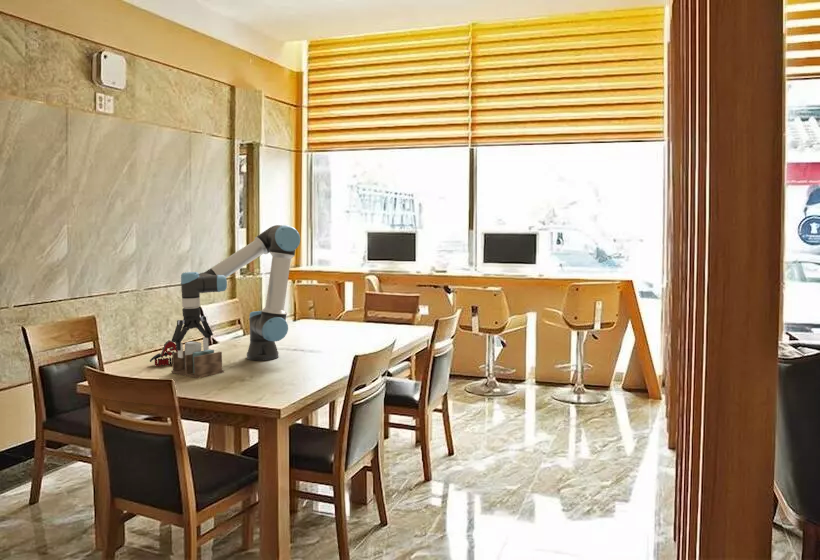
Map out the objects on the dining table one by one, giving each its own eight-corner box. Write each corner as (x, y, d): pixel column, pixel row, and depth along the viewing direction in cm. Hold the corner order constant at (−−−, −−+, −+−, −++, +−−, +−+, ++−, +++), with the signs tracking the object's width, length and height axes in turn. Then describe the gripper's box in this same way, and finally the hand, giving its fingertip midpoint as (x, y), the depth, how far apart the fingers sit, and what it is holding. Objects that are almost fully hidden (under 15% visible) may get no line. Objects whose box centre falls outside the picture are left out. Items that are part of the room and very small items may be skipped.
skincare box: (184, 369, 314) (183, 342, 312) (191, 367, 318) (190, 341, 317) (195, 371, 311) (194, 343, 310) (202, 369, 315) (201, 342, 314)
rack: (197, 367, 324) (197, 345, 323) (223, 372, 313) (223, 349, 312) (171, 372, 312) (170, 350, 311) (197, 378, 302) (196, 355, 301)
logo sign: (150, 367, 325) (149, 343, 324) (149, 365, 328) (148, 341, 327) (191, 363, 333) (190, 339, 332) (189, 361, 336) (189, 338, 335)
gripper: (208, 303, 324) (211, 349, 326) (161, 310, 304) (164, 359, 306) (219, 304, 320) (221, 350, 322) (172, 311, 300) (174, 360, 302)
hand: (193, 354), depth 314 cm, fingers open, 13 cm apart
